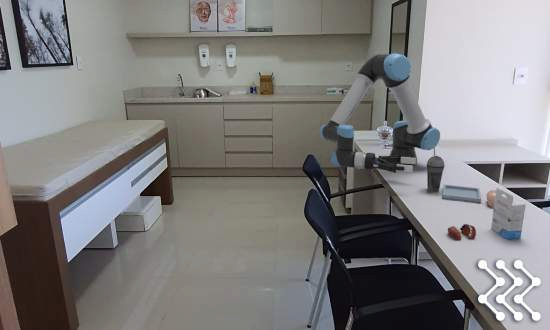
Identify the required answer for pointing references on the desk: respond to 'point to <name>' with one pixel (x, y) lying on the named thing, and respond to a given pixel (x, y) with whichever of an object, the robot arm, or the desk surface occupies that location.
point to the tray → (461, 193)
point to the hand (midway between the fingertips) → (414, 165)
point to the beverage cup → (434, 173)
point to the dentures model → (465, 229)
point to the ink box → (507, 215)
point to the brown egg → (491, 198)
